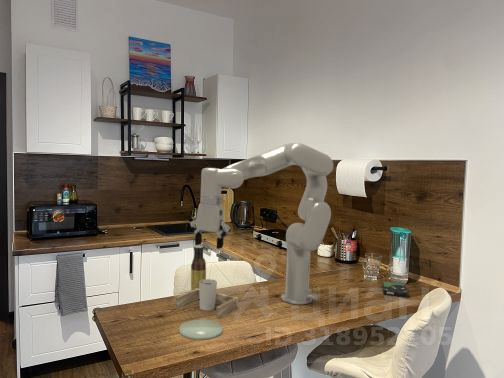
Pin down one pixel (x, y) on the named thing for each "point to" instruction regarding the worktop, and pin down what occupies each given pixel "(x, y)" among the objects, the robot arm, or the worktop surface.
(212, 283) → the white coffee cup
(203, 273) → the sauce bottle
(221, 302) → the frame
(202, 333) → the disc
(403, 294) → the disk drive
